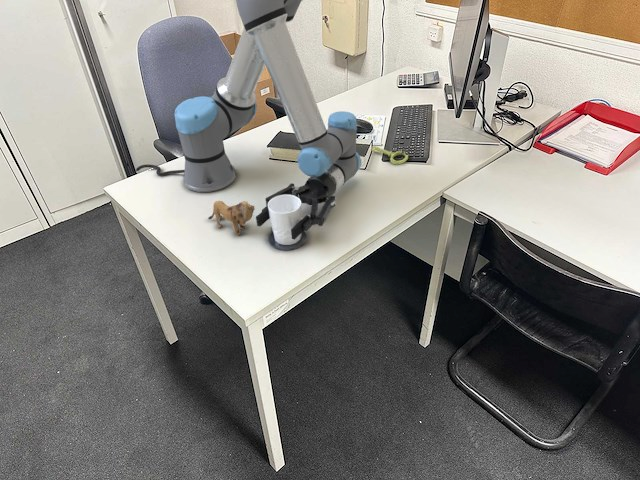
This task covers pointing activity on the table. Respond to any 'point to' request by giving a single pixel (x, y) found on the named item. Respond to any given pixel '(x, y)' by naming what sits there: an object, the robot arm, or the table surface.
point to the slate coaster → (287, 247)
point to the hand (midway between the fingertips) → (274, 228)
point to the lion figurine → (233, 214)
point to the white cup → (284, 217)
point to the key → (391, 155)
